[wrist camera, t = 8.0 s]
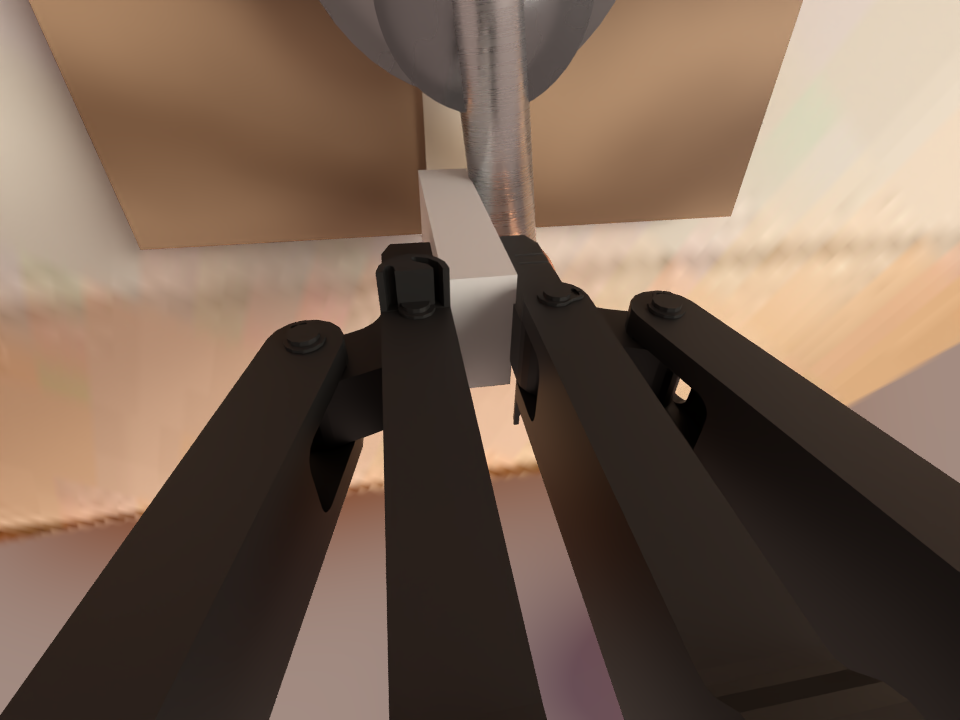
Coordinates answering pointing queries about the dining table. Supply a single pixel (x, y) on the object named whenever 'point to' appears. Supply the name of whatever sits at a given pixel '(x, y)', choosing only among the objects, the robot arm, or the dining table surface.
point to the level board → (400, 117)
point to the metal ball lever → (479, 76)
